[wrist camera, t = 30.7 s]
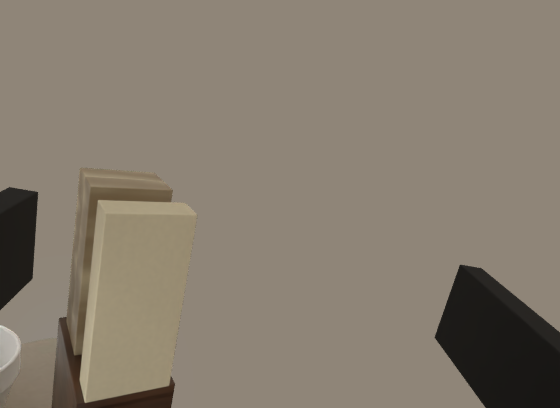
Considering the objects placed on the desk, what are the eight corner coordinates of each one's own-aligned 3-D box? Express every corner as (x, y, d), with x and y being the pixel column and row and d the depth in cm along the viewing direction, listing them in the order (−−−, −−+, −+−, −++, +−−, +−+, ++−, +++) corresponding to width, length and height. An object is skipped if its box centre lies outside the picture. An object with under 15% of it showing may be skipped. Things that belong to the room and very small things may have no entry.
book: (79, 380, 32) (97, 199, 28) (159, 365, 35) (185, 202, 32) (84, 403, 30) (105, 213, 26) (169, 386, 33) (198, 214, 30)
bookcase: (40, 536, 46) (71, 164, 35) (111, 512, 49) (157, 170, 39) (50, 658, 37) (96, 211, 26) (135, 617, 41) (204, 213, 30)
